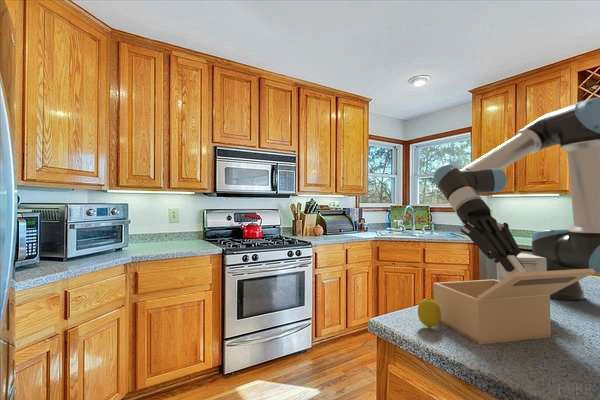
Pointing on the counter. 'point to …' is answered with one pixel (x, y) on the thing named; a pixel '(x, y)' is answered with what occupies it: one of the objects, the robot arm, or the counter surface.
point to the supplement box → (529, 263)
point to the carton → (491, 313)
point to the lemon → (429, 312)
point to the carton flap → (534, 283)
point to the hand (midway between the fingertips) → (525, 283)
